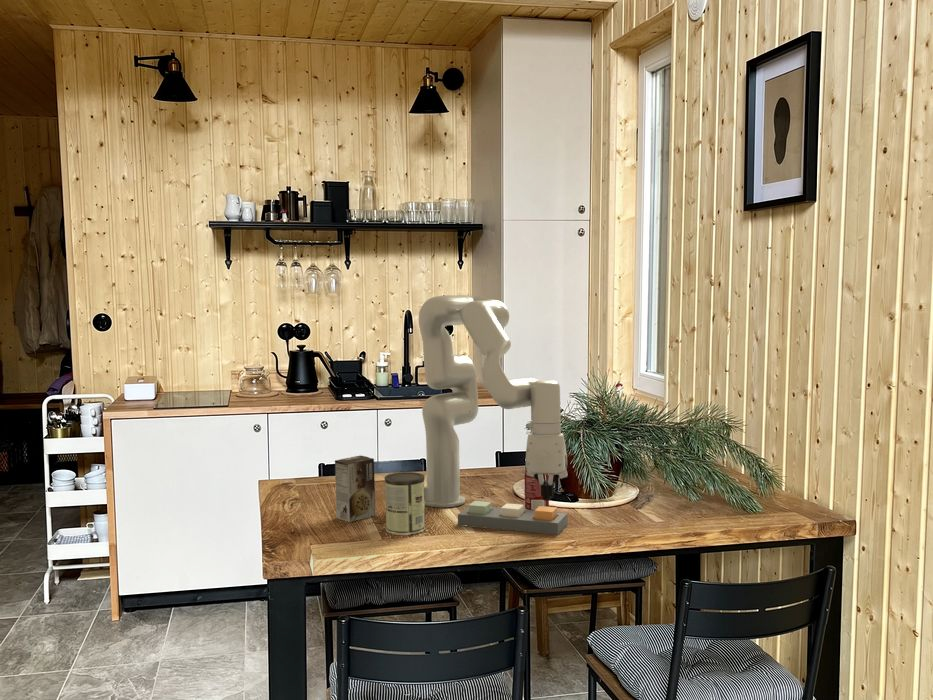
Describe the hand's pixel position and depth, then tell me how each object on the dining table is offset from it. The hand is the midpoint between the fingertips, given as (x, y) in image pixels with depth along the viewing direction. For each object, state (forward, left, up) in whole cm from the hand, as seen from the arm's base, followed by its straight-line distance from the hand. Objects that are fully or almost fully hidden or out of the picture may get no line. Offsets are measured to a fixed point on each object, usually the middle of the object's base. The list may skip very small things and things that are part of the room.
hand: (547, 499), depth 228 cm
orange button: (0, 0, -5) cm, 5 cm away
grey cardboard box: (-53, -6, -8) cm, 53 cm away
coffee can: (-35, -13, -8) cm, 38 cm away
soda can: (-8, +16, -8) cm, 20 cm away
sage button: (-19, 0, -5) cm, 19 cm away
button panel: (-10, 0, -8) cm, 12 cm away
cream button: (-10, 0, -5) cm, 11 cm away
